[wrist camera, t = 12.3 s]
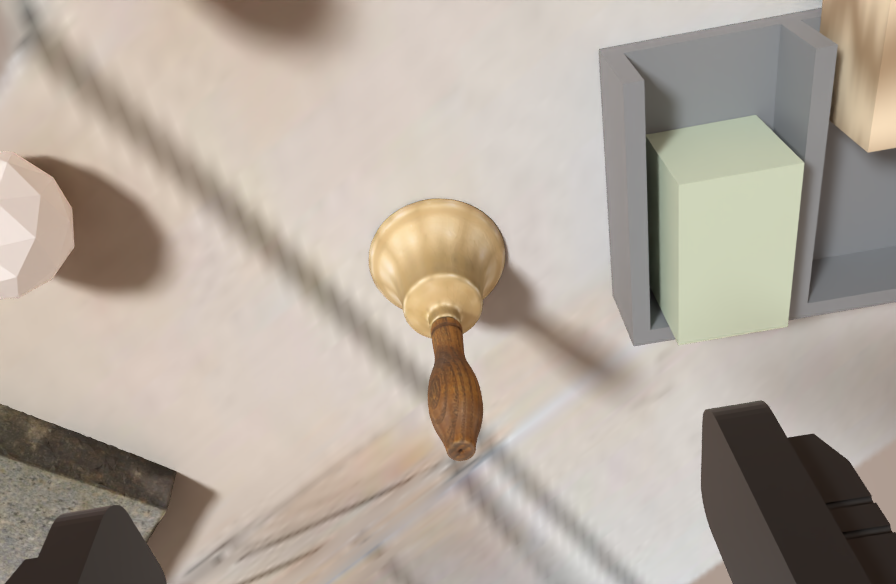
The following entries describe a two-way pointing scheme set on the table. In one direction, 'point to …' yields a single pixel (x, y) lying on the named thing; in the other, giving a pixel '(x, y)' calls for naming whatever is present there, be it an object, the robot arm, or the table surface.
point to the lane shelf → (789, 116)
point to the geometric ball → (31, 226)
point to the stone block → (67, 484)
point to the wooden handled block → (863, 70)
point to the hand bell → (442, 299)
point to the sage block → (722, 227)
